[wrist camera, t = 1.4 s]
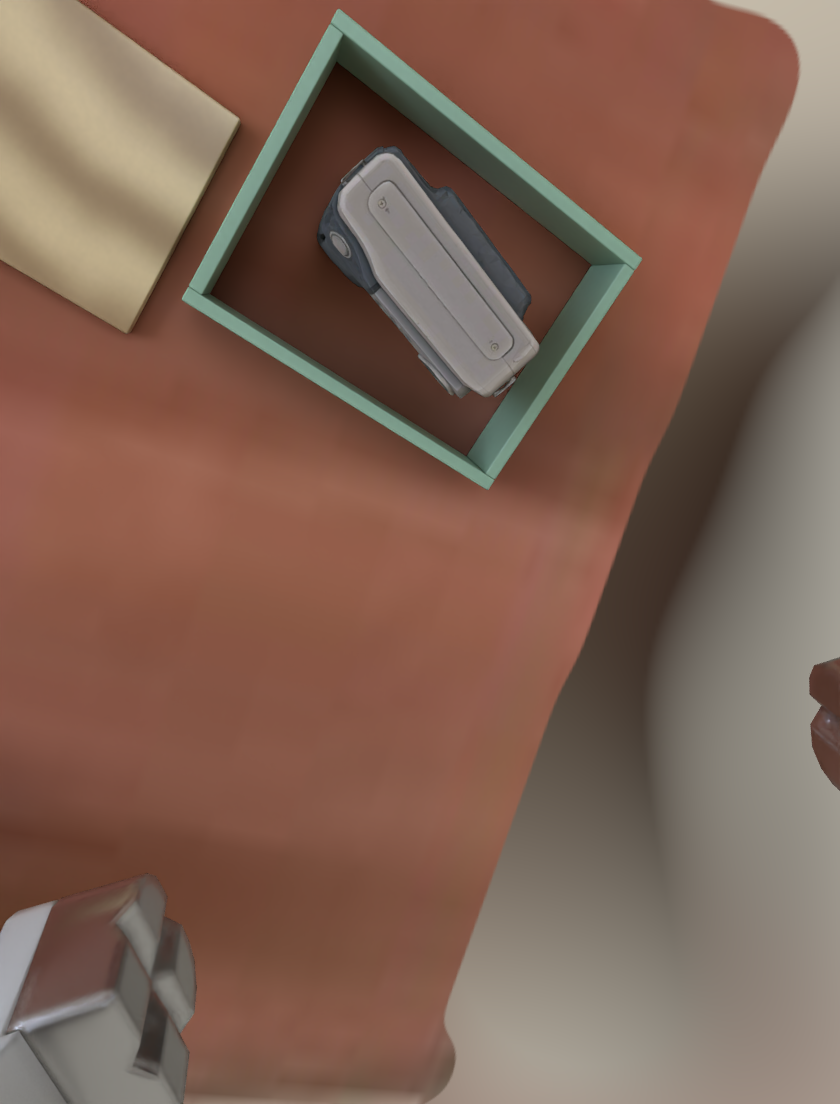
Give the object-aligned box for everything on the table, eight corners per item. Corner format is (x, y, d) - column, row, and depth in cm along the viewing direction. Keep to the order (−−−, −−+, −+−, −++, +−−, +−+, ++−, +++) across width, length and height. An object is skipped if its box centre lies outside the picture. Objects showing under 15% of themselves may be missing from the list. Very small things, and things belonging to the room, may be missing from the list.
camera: (298, 225, 39) (304, 207, 29) (381, 150, 38) (414, 108, 29) (431, 392, 43) (473, 422, 34) (507, 327, 42) (571, 339, 33)
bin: (468, 471, 45) (488, 490, 41) (191, 298, 39) (181, 300, 35) (607, 261, 42) (643, 258, 38) (331, 38, 36) (338, 7, 32)
